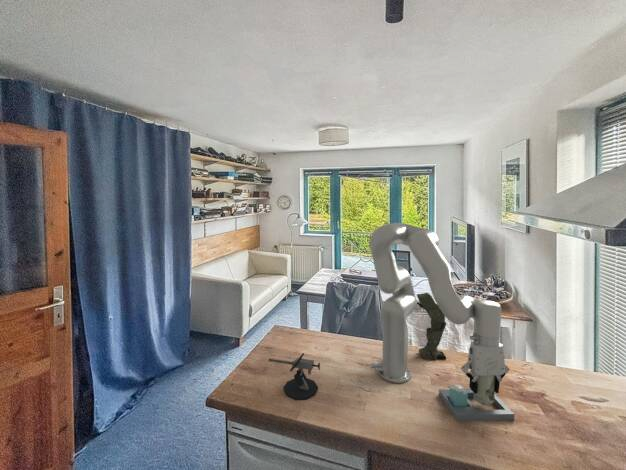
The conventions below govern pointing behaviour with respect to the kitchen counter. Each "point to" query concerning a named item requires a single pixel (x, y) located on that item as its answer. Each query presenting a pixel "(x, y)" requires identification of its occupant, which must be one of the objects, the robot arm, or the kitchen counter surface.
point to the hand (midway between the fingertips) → (484, 390)
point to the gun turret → (300, 379)
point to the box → (485, 390)
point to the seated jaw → (458, 396)
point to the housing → (472, 413)
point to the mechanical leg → (432, 328)
